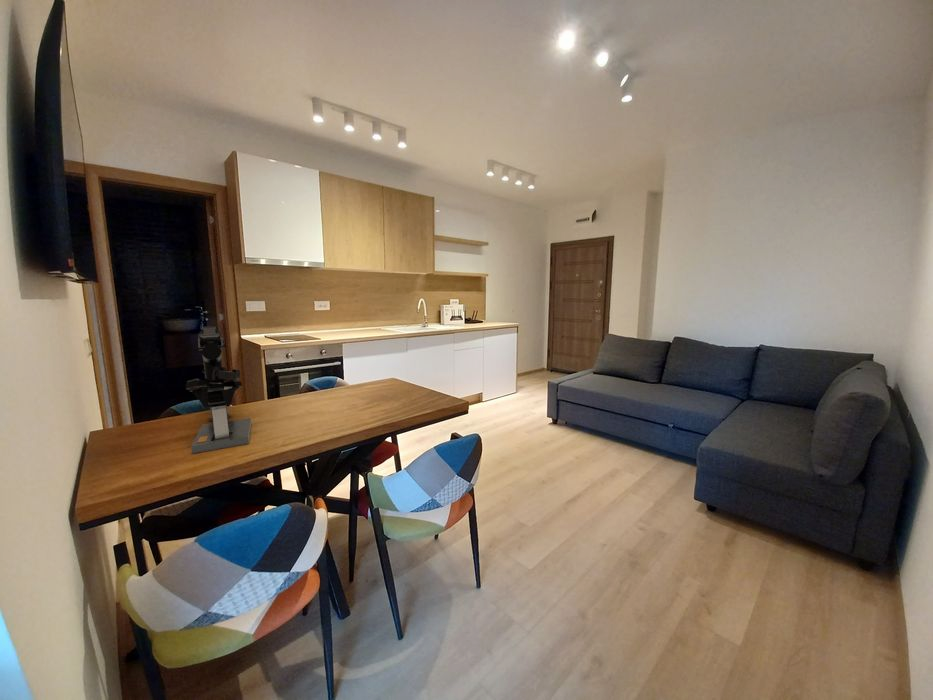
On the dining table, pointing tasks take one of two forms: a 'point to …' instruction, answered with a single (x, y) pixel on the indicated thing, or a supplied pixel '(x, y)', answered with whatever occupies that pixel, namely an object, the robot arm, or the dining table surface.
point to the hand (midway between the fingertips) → (217, 407)
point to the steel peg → (220, 422)
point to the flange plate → (237, 436)
